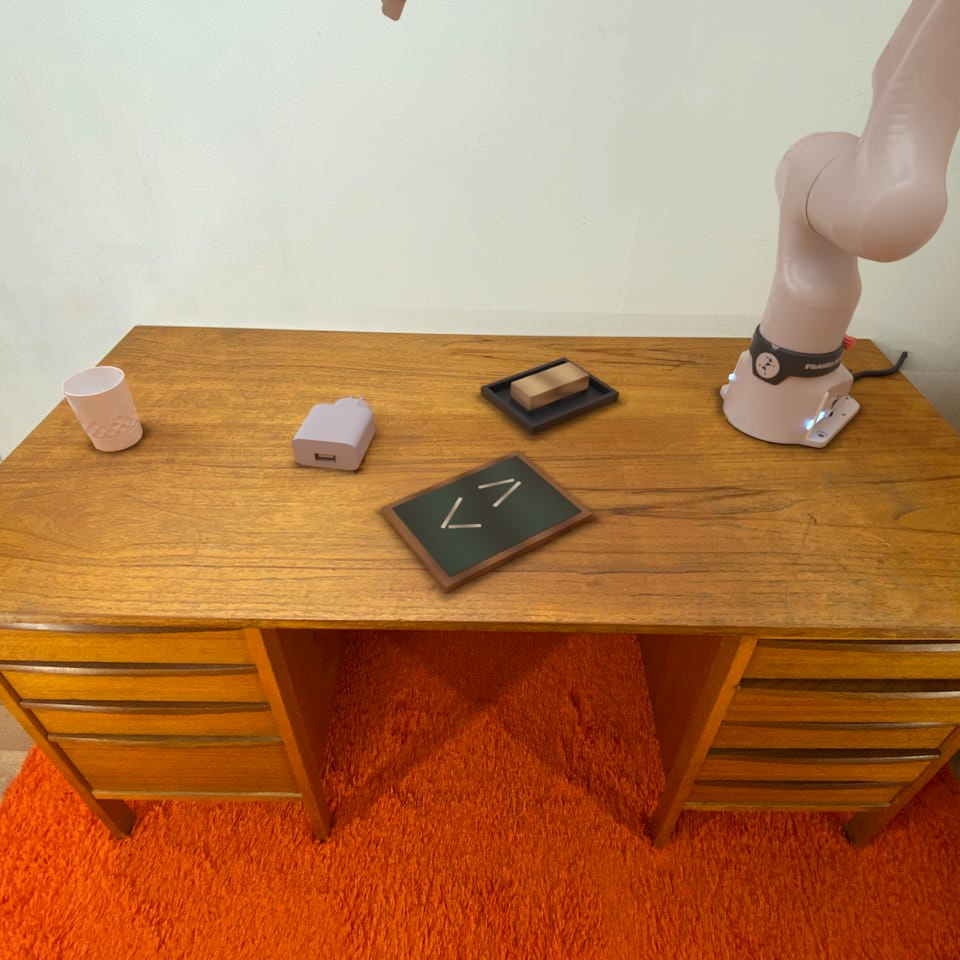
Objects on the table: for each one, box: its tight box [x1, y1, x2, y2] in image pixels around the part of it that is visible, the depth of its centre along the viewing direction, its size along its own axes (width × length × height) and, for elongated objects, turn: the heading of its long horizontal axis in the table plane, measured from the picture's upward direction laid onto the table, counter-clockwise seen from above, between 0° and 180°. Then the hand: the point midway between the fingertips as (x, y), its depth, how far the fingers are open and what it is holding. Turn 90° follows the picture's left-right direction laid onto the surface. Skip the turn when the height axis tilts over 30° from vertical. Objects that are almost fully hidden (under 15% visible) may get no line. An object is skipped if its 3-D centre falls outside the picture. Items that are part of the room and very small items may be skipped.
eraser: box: [510, 361, 590, 416], centre depth 102 cm, size 12×5×4 cm, turn 124°
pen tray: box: [480, 356, 620, 436], centre depth 103 cm, size 18×14×2 cm
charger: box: [290, 394, 377, 471], centre depth 94 cm, size 5×9×15 cm
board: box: [381, 450, 594, 593], centre depth 82 cm, size 22×16×1 cm
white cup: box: [60, 365, 144, 453], centre depth 91 cm, size 8×8×10 cm
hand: (388, 11), depth 64 cm, fingers open, 8 cm apart
